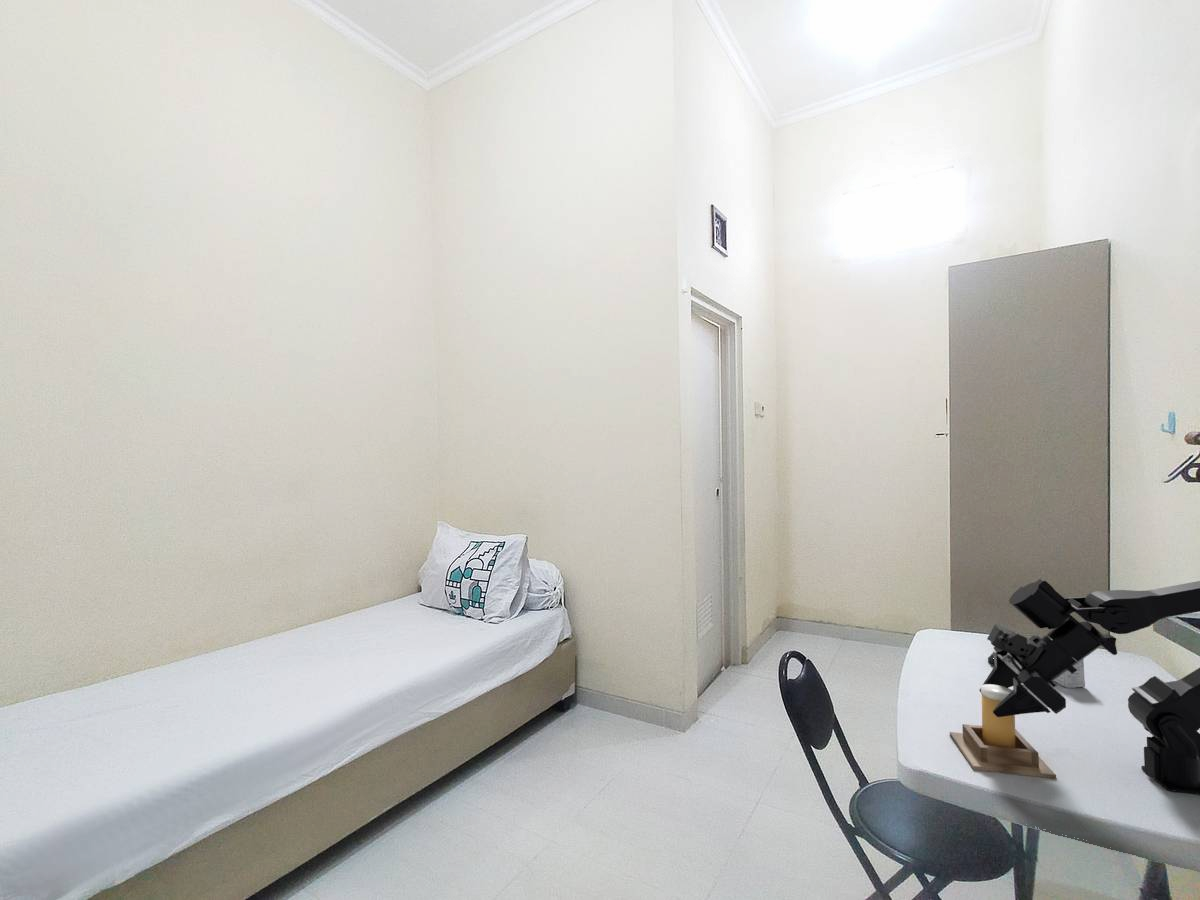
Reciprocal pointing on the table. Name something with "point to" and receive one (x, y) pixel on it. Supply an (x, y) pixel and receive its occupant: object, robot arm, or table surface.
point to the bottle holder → (1000, 754)
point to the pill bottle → (996, 718)
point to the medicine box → (1073, 677)
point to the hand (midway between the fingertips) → (987, 703)
